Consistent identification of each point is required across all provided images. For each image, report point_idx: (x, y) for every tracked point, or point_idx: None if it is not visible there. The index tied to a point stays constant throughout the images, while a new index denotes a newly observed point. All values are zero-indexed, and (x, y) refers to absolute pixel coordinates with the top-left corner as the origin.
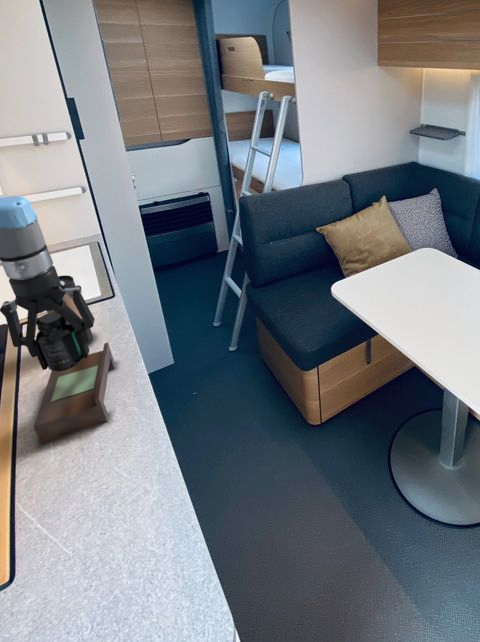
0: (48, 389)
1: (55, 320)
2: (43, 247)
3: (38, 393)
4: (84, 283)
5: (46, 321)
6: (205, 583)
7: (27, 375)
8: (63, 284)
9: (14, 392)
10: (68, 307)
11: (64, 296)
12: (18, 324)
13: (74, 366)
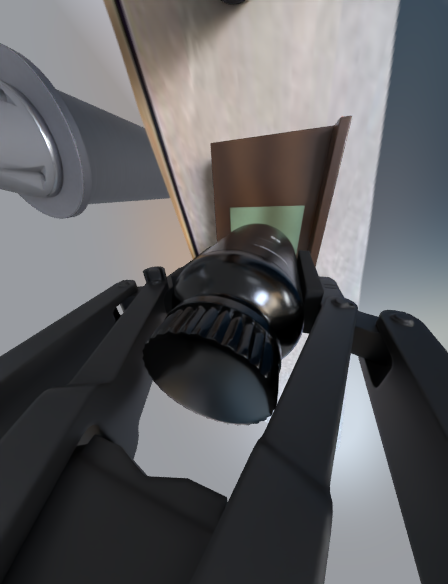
0: (221, 236)
1: (239, 422)
2: None
3: (199, 181)
4: None
5: (196, 402)
6: (338, 436)
7: (162, 100)
8: None
9: (162, 157)
10: (331, 446)
11: None
12: (80, 347)
13: (255, 179)
